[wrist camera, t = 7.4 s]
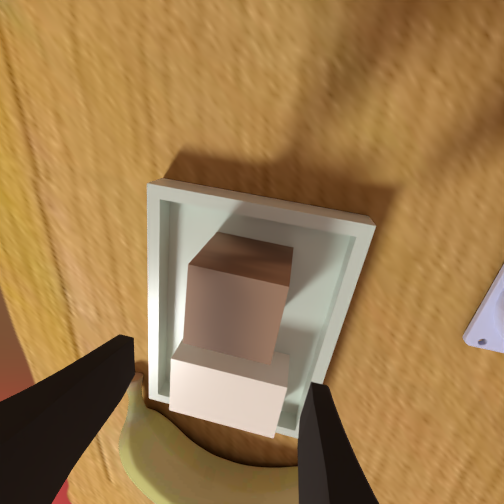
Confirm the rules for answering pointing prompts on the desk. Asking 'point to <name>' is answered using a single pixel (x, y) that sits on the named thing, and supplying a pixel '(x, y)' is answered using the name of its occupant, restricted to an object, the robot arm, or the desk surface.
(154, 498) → the banana
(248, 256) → the walnut block
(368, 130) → the desk surface
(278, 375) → the pale pink block
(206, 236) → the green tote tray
